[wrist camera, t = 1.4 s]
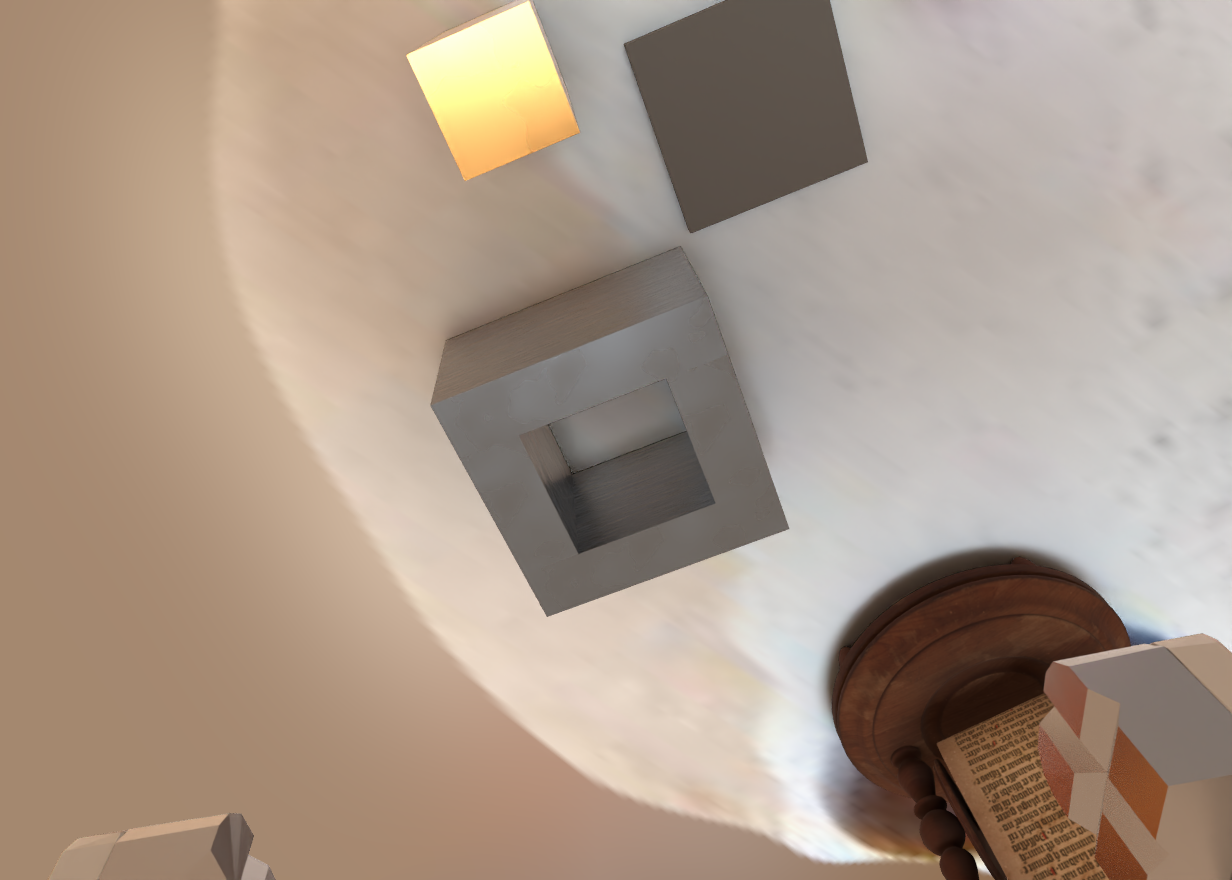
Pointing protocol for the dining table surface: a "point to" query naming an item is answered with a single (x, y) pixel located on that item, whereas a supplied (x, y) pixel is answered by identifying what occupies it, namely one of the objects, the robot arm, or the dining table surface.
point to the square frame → (630, 484)
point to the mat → (748, 103)
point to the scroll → (974, 713)
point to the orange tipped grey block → (495, 88)
